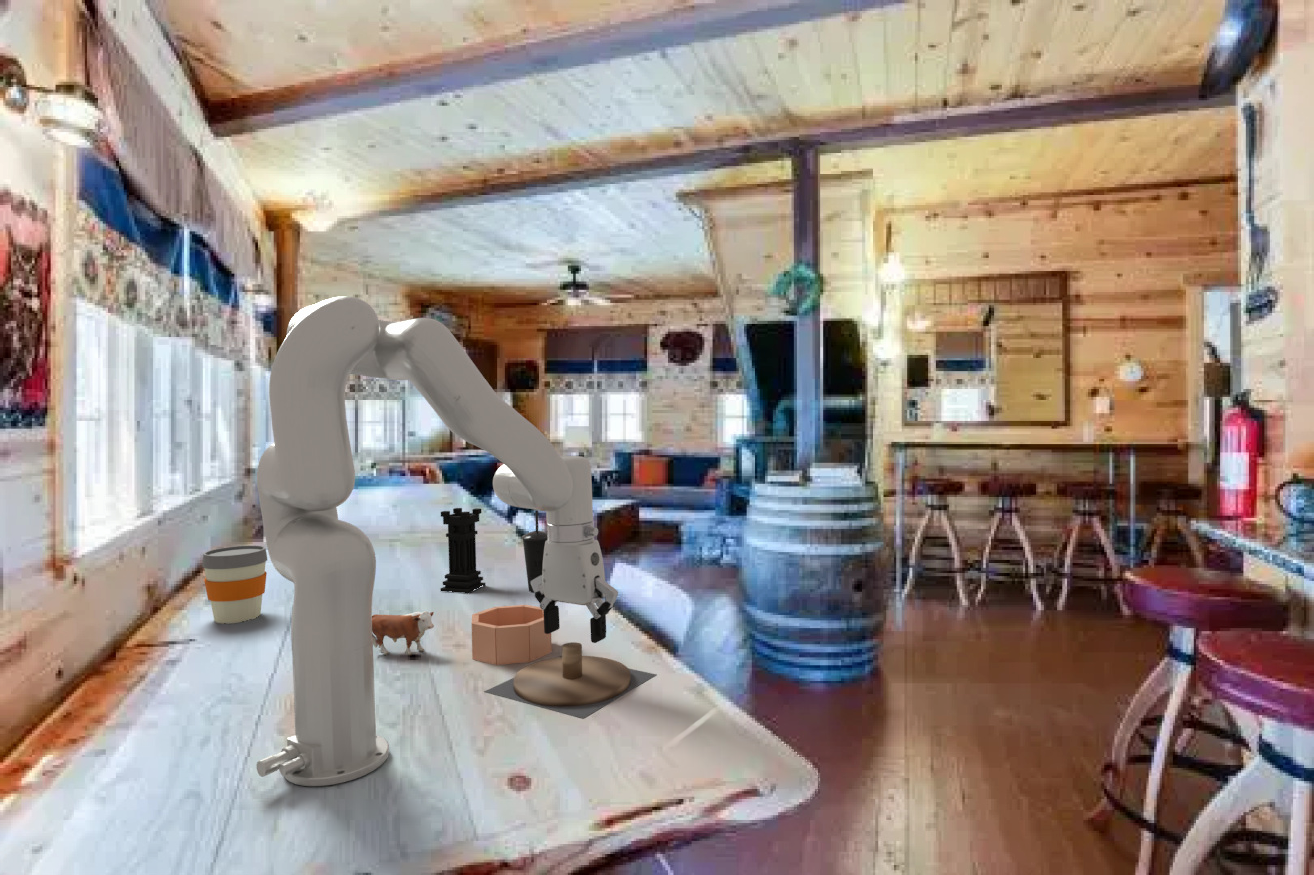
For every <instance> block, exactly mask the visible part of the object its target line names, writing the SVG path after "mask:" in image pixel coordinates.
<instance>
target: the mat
mask: <svg viewBox="0 0 1314 875" xmlns="http://www.w3.org/2000/svg"><path fill="white" fill-rule="evenodd" d="M559 657H562V655H559ZM627 668H628V667H627ZM628 669H629V670H630V677H631V682H630V685H629V687H628V688H627V689H626V690H625V691H624V692H623V693H621V694H620V695H618V696H616V697H614V698H611V699H608V700H605V701H602V702H598V703H594V704H588V705H581V706H567V707H559V706H546V705H539V704H535V703H531V702H528V701H526V700H524V699H522V698H520V697H519V696H518V695H517V694H516V693H515V692H514V684H513V680H514V677H513V678H511V679H508V680H506V681H504V682H502V683H499V684H497V685H494V686H493V687H491V688H489V689H486V690H484V691H483V692H484V693H486V694H490V695H494V696H498V697H502V698H505V699H509V700H513V701H517V702H519V703H524V704H527V705H531V706H534V707H539V708H542V709H545V710H549V711H553V712H556V713H559V714H560V713H561V714H563V715H568V716H571V717H575V718H578V719H582V720H584V719H586V718H587V717H589V716H591V715H592V714H594V713H595V712H597V711H599V710H601V709H602V708H604V707H606V706H607V705H609V704H611V703H612V702H614V701H616V700H618V699H619V698H621V697H622V696H625V695H626V694H627V693H629V692H631V691H632V690H634V689H636V688H638V687H639V686H641V685H642V684H645V683H646V682H647V681H649V680H651V679H652V678H654V677H656V676H657V675H658V674H656V673H653V672H647V671H642V670H637V669H632V668H628Z"/></svg>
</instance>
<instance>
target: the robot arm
mask: <svg viewBox="0 0 1314 875" xmlns="http://www.w3.org/2000/svg"><path fill="white" fill-rule="evenodd" d="M351 374H352V375H358V376H364V377H369V378H376V379H377V378H378V379H383V380H393V381H410V382H411V383H412V385H413V386H414V387H415V389H416V390H417V391H418V392H419V394H421V395H422V397H423V398H424V400H425V401H426V402H427V403H428V404H429V405H430V407H431V409H433V410H434V412H435V413H436V414H437V416H438V417H439V419H440V420H441V422H443V424H444V425H445V426H446V427H447V428H448V430H449V431H450V432H451V433H453V434H454V435H455V436H457V437H459V438H460V439H462V440H463V441H465V442H467V443H468V444H471V445H473V446H475V447H478V448H480V449H481V450H483V451H485V452H487V453H488V454H490V455H491V456H493V457H494V458H495V459H497V460H499V461H500V462H501V463H502V464H501V465H500V467H498V468H497V470H496V471H495V472H494V476H493V478H492V488H493V491H494V493H495V495H496V496H497V498H498V499H499V500H500V501H501V502H502V503H505V505H506V504H507V505H508V506H511V507H515V508H522V509H527V510H528V509H531V510H535V511H536V510H538V511H539V512H546V513H545V514H546V517H545V518H546V532H547V539H548V540H547V541H545V547H544V554H543V571H542V575H541V576H539V577H537V578H535V579H533V580H532V581H531V586H532V588H533V591H534V592H535V593H534V592H533V593H534V598H535V599H536V601H537V602H538V603H539V607H540V608H541V609H542V610H543V613H544V633H545V634H549V633H551V634H552V633H554V632H556V631H559V630H560V626H561V625H560V610H559V609H560V608H559V605H556V604H557V603H558V602H560V603H565V604H572V605H579V606H586V607H587V610H588V612H590V614H591V616H592V617H591V618H590V620H589V624H590V642H591V643H593V644H596V643H599V642H600V641H603V640H605V639H606V637H607V616H606V615H608V614H609V613H610V611H611V610H612V609H613V608H614V606H615V602H616V600H617V598H618V595H619V590H618V589H616V588H614V586H612V585H611V584H609V583H607V581H606V572H605V566H604V559H603V554H602V549H601V546H600V542H599V540H598V539H595V537H597V536H598V534H599V529H598V528H597V527H594V514H593V513H594V510H593V509H594V508H593V486H592V466H591V462H590V461H589V459H588V458H587V457H584V456H578V455H572V456H571V455H570V456H569V455H566V456H561V455H560V454H559V452H558V451H557V449H555V446H554V445H553V444H552V443H551V442H550V441H549V439H548V438H547V437H546V435H544V433H543V432H541V431H540V430H539V429H538V428H537V427H536V426H535V425H534V424H533V423H531V422H530V421H529V420H528V419H527V418H525V416H523V415H522V414H521V413H519V412H518V411H517V410H516V409H515V408H513V407H512V406H511V405H510V404H508V403H507V402H506V401H505V400H503V399H502V398H501V397H500V396H499V395H498V394H497V393H496V392H495V390H494V389H493V387H492V386H491V385H490V384H489V382H488V381H487V379H485V376H483V374H482V373H481V371H480V370H479V369H478V367H477V366H476V364H475V363H474V362H473V360H472V359H471V358H470V356H469V355H468V354H467V352H466V351H465V349H464V348H463V346H462V345H461V343H459V340H457V339H456V337H455V336H454V334H453V333H452V332H451V330H449V328H448V327H447V326H446V325H444V323H442V322H441V321H439V320H437V319H433V318H429V317H417V318H412V319H407V320H402V321H399V322H398V321H390V320H389V321H388V320H382V319H379V317H378V315H377V313H376V311H375V309H374V308H373V306H371V305H370V304H369V303H368V302H366V301H365V300H363V299H361V298H357V297H355V296H349V295H344V296H342V295H340V296H335V297H331V298H327V299H324V300H321V301H319V302H317V303H315V304H312V305H308V306H306V307H304V308H301V309H300V310H299V311H298V312H296V313H295V314H294V316H292V317H291V319H290V321H289V322H288V325H287V329H286V337H285V338H284V340H283V342H282V343H281V345H280V346H279V348H278V350H277V353H276V355H275V357H274V360H273V362H272V366H271V370H270V374H269V375H270V376H269V386H268V387H269V389H268V390H269V391H268V393H269V394H268V395H269V404H270V405H269V408H270V413H271V414H270V415H271V416H270V417H271V428H272V434H273V442H272V443H271V444H270V445H269V446H268V447H266V449H265V450H264V452H263V453H262V454H261V456H260V458H259V462H258V464H257V471H256V487H257V491H258V492H257V493H258V500H259V505H260V512H261V517H262V518H261V519H262V525H263V531H264V537H265V541H266V542H265V543H266V547H267V548H266V549H267V550H268V551H267V552H268V555H269V559H270V561H271V564H272V566H273V567H274V569H275V571H277V572H278V573H279V574H280V576H282V577H283V578H284V579H286V580H288V581H290V582H291V583H292V584H293V585H294V591H293V592H294V593H293V603H292V611H291V625H290V630H291V631H290V632H291V633H290V634H291V637H290V638H291V642H290V643H291V651H292V652H291V654H292V677H293V678H292V679H293V682H292V683H293V704H294V705H293V706H294V733H295V734H294V735H292V736H290V737H287V738H286V743H287V744H286V745H287V746H286V747H283V748H281V751H280V752H279V753H276V754H272V755H269V756H266V757H265V758H263V759H261V760H258V761H257V762H256V771H257V774H258V775H259V777H261V778H262V777H266V776H268V775H270V774H273V773H275V772H277V771H279V773H280V775H281V776H283V777H284V778H285V780H287V781H288V782H290V783H292V784H295V785H299V786H304V787H305V786H306V787H325V786H331V785H338V784H342V783H346V782H349V781H353V780H356V779H359V778H361V777H363V776H366V775H368V774H369V773H372V772H373V771H375V770H377V769H378V768H379V767H380V766H382V765H383V764H384V763H385V762H386V760H387V759H388V758H389V754H390V744H389V742H388V740H387V739H385V738H384V737H382V736H380V735H378V734H377V732H376V731H377V730H376V728H377V726H376V703H375V702H376V700H375V699H376V698H375V695H376V694H375V668H374V667H375V666H374V665H375V664H374V645H373V639H372V633H373V632H372V616H373V595H374V589H375V588H374V586H375V580H376V571H377V570H376V569H377V559H376V553H375V549H374V546H373V544H372V542H371V540H370V539H369V537H368V536H367V534H365V533H364V531H362V530H361V529H360V528H359V527H358V526H356V525H353V524H352V523H350V522H347V521H345V520H341V519H339V515H338V508H337V507H339V506H341V505H342V504H344V503H345V502H346V501H347V500H348V499H349V497H350V496H351V494H352V493H353V490H354V488H355V483H356V472H355V465H354V460H353V459H354V458H353V454H352V446H351V439H350V433H349V426H348V420H347V415H346V414H347V412H346V411H347V410H346V399H345V398H346V387H347V382H348V380H349V377H350V375H351ZM603 599H604V600H603Z"/></svg>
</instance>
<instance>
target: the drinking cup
mask: <svg viewBox="0 0 1314 875" xmlns="http://www.w3.org/2000/svg"><path fill="white" fill-rule="evenodd" d="M534 512H535V513H534V516H535V519H534V520H535V530H533V531H530V532H527V533H525V534H524V535H522V536H521V540H522V544H523V552H524V560H525V561H524V562H525V568H526V577H527V586H528V592H530V591H531V592H530V593H534V591H533V588H532V586H531V581H532V580H533V579H535V578H537V577H539V576H541V575H542V571H543V554H544V547H545V541H547V540H548V539H547V531H543V530H539V510H535V511H534Z"/></svg>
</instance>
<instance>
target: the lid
mask: <svg viewBox="0 0 1314 875" xmlns="http://www.w3.org/2000/svg"><path fill="white" fill-rule="evenodd" d="M561 656H562V657H560V656H557V657H551V658H547V659H543V660H540V661H537V662H533V663H532V664H531V663H530V664H528V665H526V666H524V667H523V668H522V669H520V670H519V671H518V672H517V673H516V674H515V675H514V677H513V678H514V680H513V684H514V692H515V693H516V694H517V695H518V696H519V697H520V698H522V699H524V700H526V701H528V702H531V703H535V704H539V705H546V706H559V707H567V706H581V705H588V704H594V703H598V702H602V701H605V700H608V699H611V698H614V697H616V696H618V695H620V694H621V693H623V692H624V691H625V690H626V689H627V688H628V687H629V685H630V682H631V677H630V670H629V669H630V668H629V669H628V666H626V665H625V664H624V663H622V662H619V661H618V660H615V659H610V658H607V657H600V656H593V655H592V656H591V655H583V646H582V643H580V642H574V641H573V642H566V643H563V644H562V645H561Z"/></svg>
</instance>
